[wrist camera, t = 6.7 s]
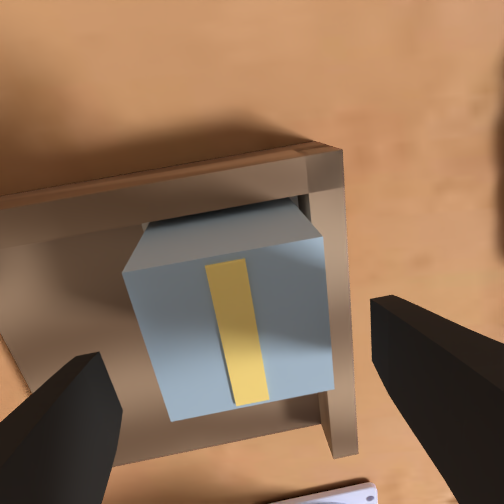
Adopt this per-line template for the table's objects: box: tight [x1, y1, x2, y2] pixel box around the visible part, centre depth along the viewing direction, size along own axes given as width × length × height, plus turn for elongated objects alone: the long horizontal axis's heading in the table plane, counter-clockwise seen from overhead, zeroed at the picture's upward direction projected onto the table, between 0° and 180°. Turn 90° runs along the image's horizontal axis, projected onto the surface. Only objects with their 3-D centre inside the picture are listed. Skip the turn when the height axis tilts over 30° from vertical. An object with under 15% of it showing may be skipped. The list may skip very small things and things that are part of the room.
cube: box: [122, 197, 335, 422], centre depth 12 cm, size 5×5×5 cm
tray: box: [0, 141, 358, 467], centre depth 15 cm, size 14×14×3 cm
